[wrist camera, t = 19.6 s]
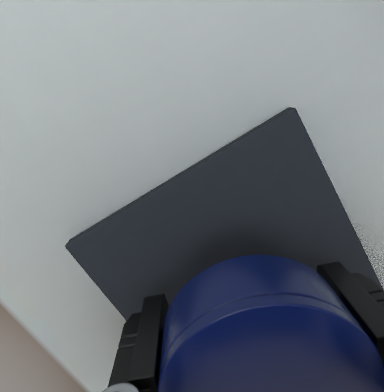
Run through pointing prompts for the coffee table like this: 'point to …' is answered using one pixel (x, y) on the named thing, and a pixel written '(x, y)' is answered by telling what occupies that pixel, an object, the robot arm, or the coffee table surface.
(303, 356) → the jar lid
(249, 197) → the coaster
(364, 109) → the coffee table surface
